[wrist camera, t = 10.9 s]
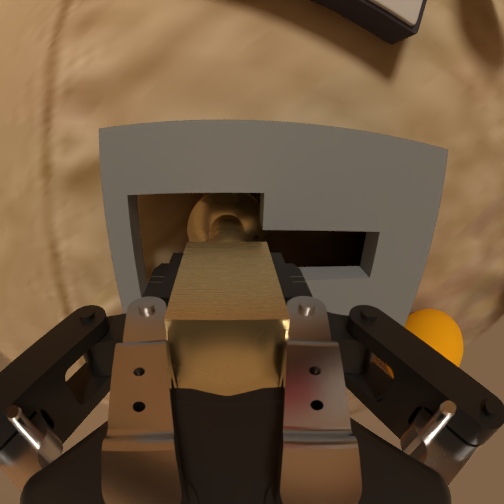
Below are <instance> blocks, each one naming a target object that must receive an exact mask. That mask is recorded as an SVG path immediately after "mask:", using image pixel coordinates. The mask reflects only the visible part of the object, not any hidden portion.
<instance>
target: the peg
mask: <svg viewBox="0 0 504 504" xmlns="http://www.w3.org/2000/svg"><path fill="white" fill-rule="evenodd" d="M259 217H260V204H259V202H258V200H257V199H256V198H255V197H254V196H253V195H252V194H250V193H204V194H203V195H202V196H201V197H200V198H199V199H198V200H197V202H196V203H195V205H194V207H193V209H192V211H191V214H190V216H189V219H188V224H187V234H188V239H189V242H187V244H186V247H185V250H184V253H183V256H182V260H181V263H180V266H179V269H178V273H177V276H176V279H175V283H174V286H173V289H172V293H171V296H170V300H169V303H168V307H167V310H166V314H165V317H164V322H165V328H166V331H168V337H169V342H170V354H171V359H172V364H173V368H174V373H175V377H176V379H177V381H178V386H179V388H191V389H195V390H200V391H204V392H209V393H213V394H218V395H223V396H232V395H236V394H241V393H245V392H249V391H253V390H257V389H261V388H272V387H277V386H278V380H279V378H280V377H281V371H282V364H283V353H284V339H285V332H286V330H289V323H290V316H289V313H288V310H287V306H286V303H285V300H284V297H283V293H282V290H281V287H280V283H279V280H278V277H277V274H276V270H275V267H274V264H273V261H272V257H271V254H270V251H269V248H268V245H267V242H265V240H266V236H267V230H263V229H262V226H261V223H260V220H259Z"/></svg>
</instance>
